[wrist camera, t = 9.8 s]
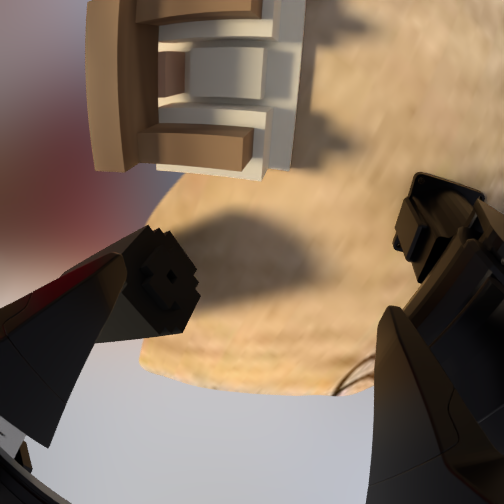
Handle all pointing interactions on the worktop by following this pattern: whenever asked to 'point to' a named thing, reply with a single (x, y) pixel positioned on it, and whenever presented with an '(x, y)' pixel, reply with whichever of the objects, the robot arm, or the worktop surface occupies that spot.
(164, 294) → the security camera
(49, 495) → the robot arm
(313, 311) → the worktop surface
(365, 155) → the worktop surface
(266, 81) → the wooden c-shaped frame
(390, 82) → the worktop surface
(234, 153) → the wooden c-shaped bracket
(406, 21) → the worktop surface
